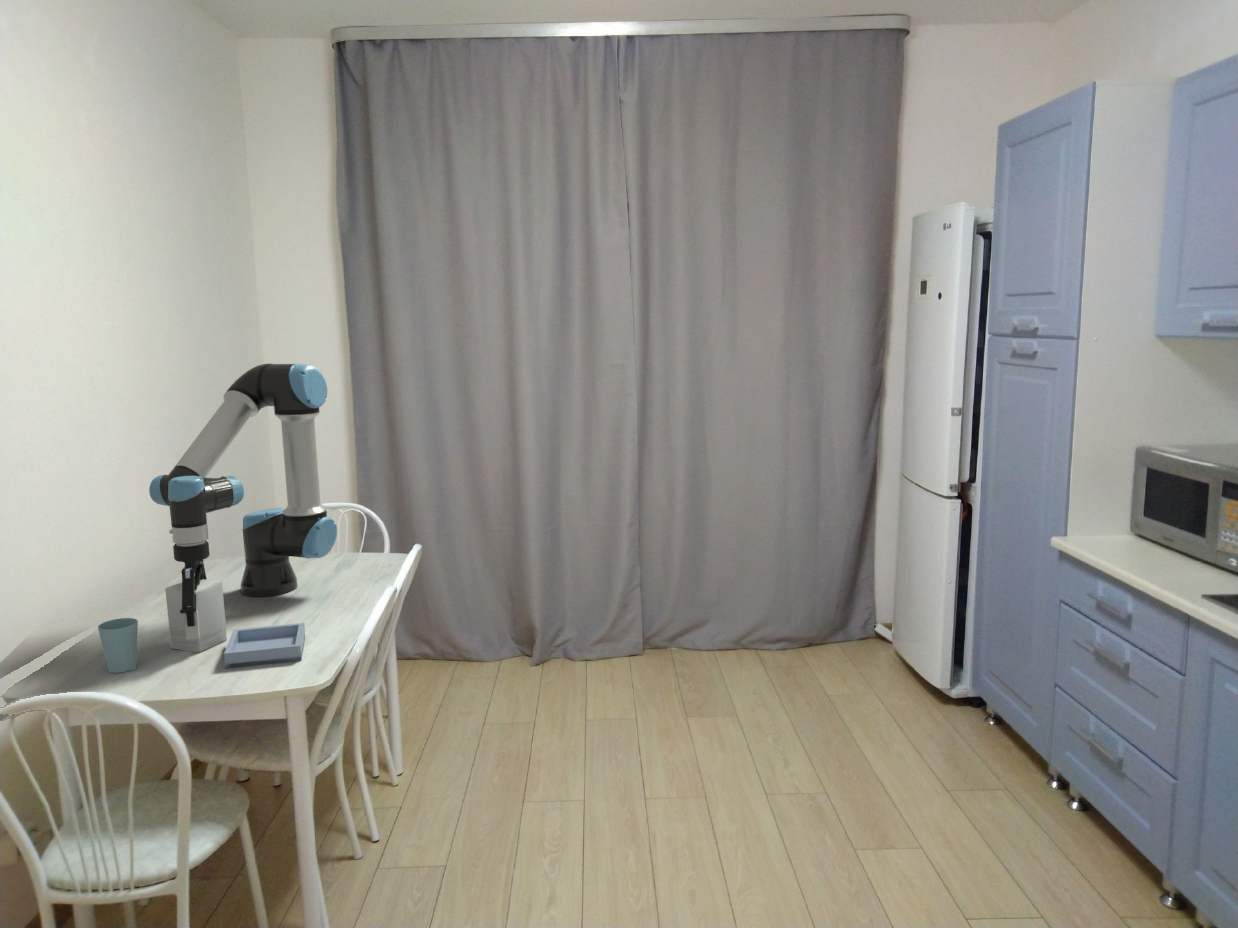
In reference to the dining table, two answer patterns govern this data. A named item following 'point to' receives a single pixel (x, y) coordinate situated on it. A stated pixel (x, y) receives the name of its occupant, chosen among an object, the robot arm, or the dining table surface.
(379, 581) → the dining table surface
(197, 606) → the supplement box
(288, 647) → the bin
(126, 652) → the cup
